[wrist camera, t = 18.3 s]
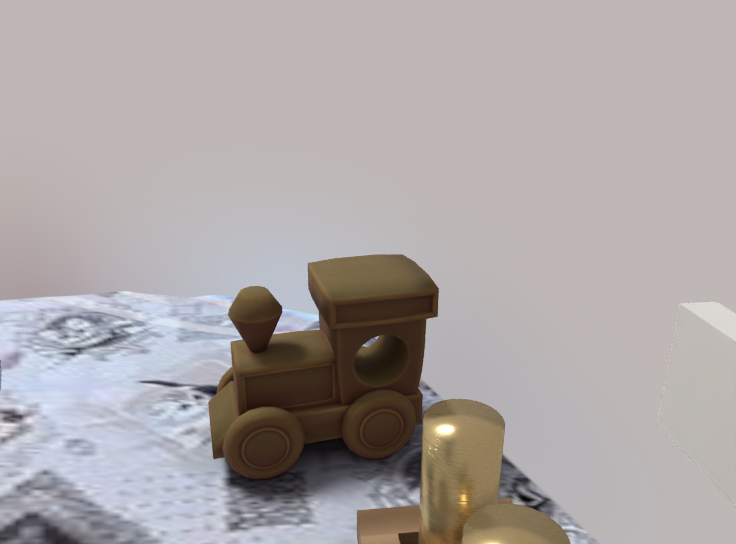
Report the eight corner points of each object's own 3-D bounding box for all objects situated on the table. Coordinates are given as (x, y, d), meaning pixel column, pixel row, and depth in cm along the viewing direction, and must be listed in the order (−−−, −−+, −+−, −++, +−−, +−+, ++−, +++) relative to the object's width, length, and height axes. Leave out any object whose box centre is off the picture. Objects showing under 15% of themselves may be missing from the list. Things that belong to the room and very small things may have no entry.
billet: (402, 599, 43) (408, 426, 38) (437, 553, 47) (446, 390, 42) (469, 636, 40) (483, 456, 35) (500, 584, 44) (517, 415, 39)
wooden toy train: (398, 393, 68) (401, 248, 63) (437, 455, 58) (445, 289, 52) (210, 421, 63) (194, 266, 58) (217, 495, 53) (198, 316, 47)
